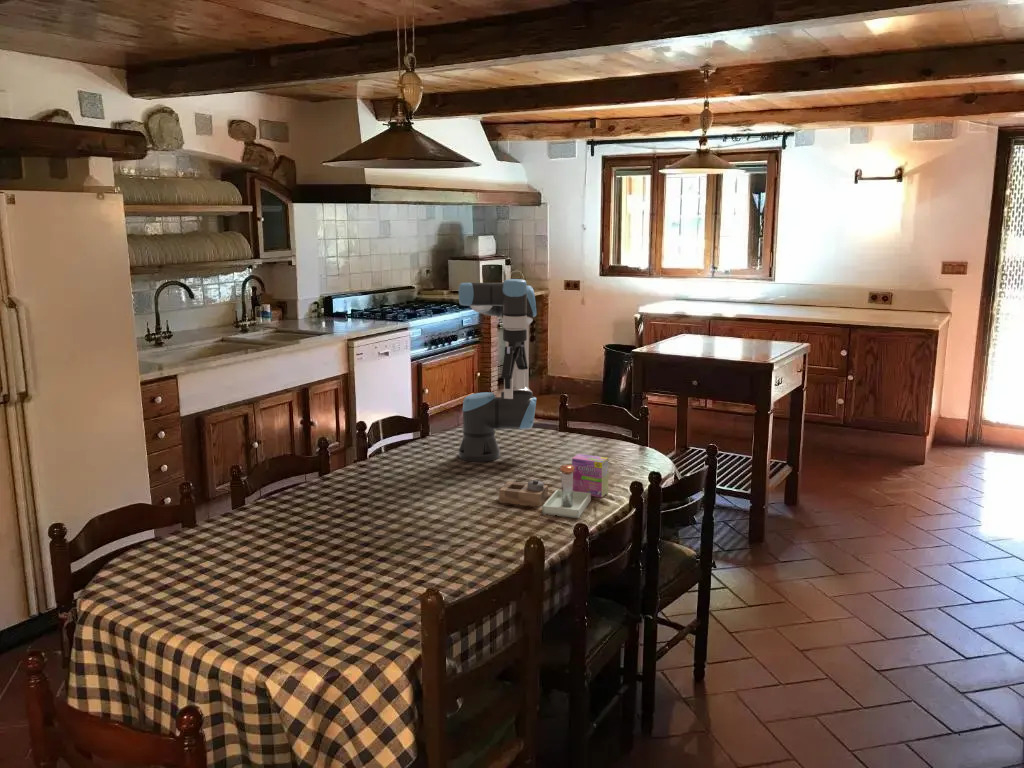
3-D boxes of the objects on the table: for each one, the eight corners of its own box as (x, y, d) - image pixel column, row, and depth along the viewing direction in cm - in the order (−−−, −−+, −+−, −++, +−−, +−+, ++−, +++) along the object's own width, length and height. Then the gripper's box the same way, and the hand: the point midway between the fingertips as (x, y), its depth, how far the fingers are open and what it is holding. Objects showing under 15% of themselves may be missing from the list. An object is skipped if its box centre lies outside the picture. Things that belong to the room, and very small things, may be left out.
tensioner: (508, 493, 262) (508, 473, 260) (547, 497, 257) (548, 477, 256) (499, 502, 253) (499, 481, 252) (539, 507, 249) (539, 486, 248)
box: (571, 493, 262) (571, 457, 259) (578, 488, 267) (578, 453, 264) (601, 498, 257) (602, 462, 255) (608, 493, 262) (609, 457, 260)
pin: (562, 502, 251) (562, 464, 249) (575, 503, 250) (575, 465, 248) (558, 506, 248) (558, 468, 245) (572, 508, 246) (572, 469, 244)
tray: (556, 496, 258) (556, 489, 258) (590, 500, 255) (591, 493, 254) (542, 514, 243) (542, 506, 243) (578, 518, 240) (578, 510, 239)
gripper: (515, 322, 272) (514, 384, 277) (491, 334, 249) (491, 401, 254) (536, 323, 270) (536, 386, 275) (514, 335, 247) (514, 403, 252)
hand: (514, 393), depth 264 cm, fingers open, 13 cm apart
